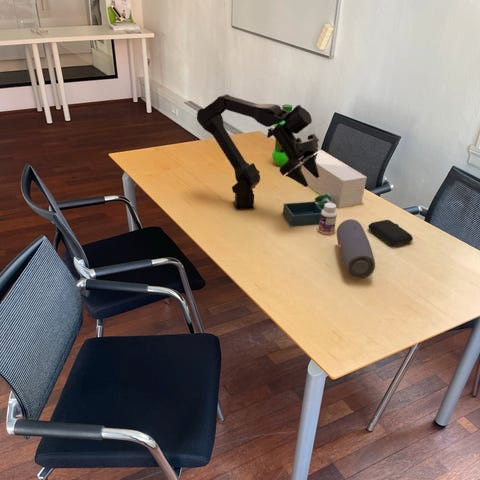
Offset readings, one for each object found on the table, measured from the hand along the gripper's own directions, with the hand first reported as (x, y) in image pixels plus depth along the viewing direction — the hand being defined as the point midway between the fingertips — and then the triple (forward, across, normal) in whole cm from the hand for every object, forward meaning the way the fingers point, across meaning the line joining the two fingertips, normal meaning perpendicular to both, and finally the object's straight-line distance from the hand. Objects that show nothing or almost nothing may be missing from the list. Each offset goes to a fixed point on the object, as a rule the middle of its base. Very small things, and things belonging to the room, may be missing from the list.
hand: (312, 181), depth 157 cm
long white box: (+8, +33, +15) cm, 37 cm away
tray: (+9, +3, +13) cm, 16 cm away
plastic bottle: (-12, +48, +36) cm, 61 cm away
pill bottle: (+17, -1, +5) cm, 18 cm away
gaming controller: (+11, +17, +12) cm, 24 cm away
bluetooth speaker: (+27, -16, -6) cm, 32 cm away
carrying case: (+31, +8, -9) cm, 33 cm away
